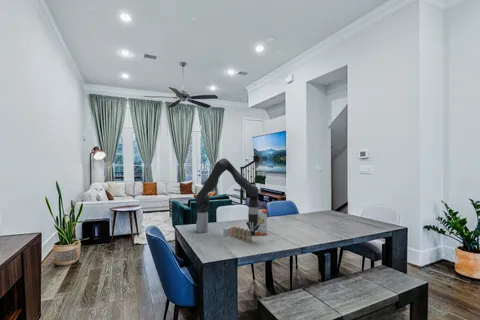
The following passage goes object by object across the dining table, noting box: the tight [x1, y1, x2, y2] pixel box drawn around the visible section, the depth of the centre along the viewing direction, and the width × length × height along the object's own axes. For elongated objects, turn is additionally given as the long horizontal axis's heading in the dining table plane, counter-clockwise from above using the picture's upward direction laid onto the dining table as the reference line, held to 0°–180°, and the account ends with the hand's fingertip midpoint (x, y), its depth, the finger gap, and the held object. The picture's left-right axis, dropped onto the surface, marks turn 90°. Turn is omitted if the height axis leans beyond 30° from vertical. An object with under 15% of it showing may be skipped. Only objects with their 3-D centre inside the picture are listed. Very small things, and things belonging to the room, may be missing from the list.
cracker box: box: [248, 209, 268, 237], centre depth 211 cm, size 14×6×21 cm, turn 101°
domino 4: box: [241, 228, 249, 242], centre depth 195 cm, size 2×5×8 cm, turn 135°
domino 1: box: [229, 225, 237, 238], centre depth 205 cm, size 2×5×8 cm, turn 136°
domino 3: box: [237, 227, 245, 240], centre depth 199 cm, size 2×5×8 cm, turn 135°
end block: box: [222, 226, 231, 238], centre depth 209 cm, size 3×10×6 cm, turn 135°
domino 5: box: [245, 230, 253, 243], centre depth 192 cm, size 2×5×8 cm, turn 135°
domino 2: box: [233, 226, 241, 239], centre depth 202 cm, size 2×5×8 cm, turn 135°
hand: (252, 235), depth 190 cm, fingers closed
